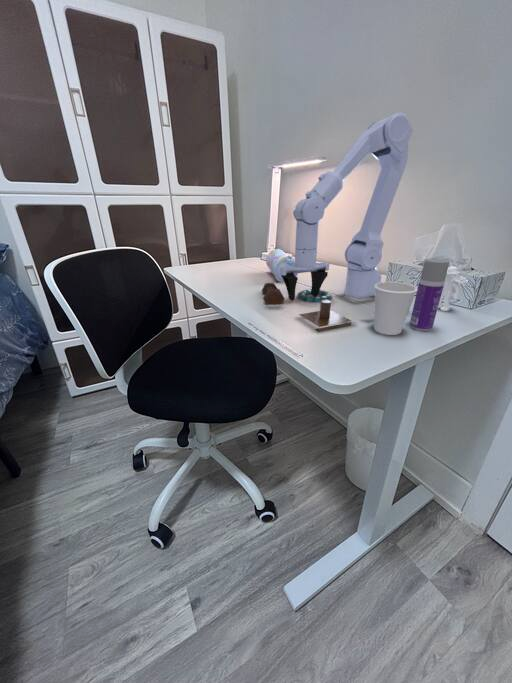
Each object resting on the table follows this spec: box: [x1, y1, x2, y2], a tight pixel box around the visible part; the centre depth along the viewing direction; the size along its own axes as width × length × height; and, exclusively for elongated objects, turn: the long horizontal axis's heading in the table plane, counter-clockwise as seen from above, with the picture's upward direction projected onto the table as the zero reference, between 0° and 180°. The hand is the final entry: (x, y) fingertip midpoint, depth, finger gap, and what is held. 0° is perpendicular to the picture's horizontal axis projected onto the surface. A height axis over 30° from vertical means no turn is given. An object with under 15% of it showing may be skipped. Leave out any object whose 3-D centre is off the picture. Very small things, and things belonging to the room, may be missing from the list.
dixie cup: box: [373, 281, 418, 336], centre depth 63 cm, size 8×8×10 cm
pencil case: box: [265, 248, 299, 283], centre depth 111 cm, size 21×9×10 cm, turn 7°
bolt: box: [261, 282, 285, 306], centre depth 85 cm, size 6×5×15 cm
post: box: [298, 300, 352, 333], centre depth 69 cm, size 9×9×5 cm
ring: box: [296, 288, 333, 304], centre depth 85 cm, size 10×10×2 cm
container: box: [408, 258, 450, 332], centre depth 63 cm, size 5×5×15 cm
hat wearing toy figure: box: [438, 263, 469, 312], centre depth 76 cm, size 9×4×12 cm, turn 20°
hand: (303, 297), depth 83 cm, fingers open, 7 cm apart
